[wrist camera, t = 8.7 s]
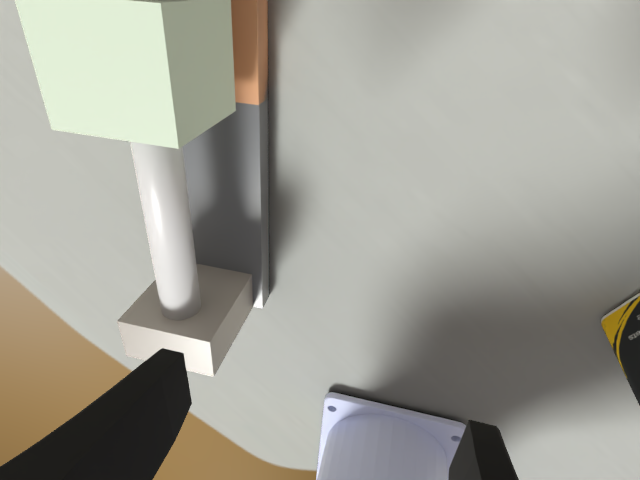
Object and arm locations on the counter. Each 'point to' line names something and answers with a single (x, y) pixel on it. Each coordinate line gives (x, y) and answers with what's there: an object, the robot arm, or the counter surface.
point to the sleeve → (132, 66)
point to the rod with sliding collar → (208, 219)
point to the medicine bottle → (626, 339)
